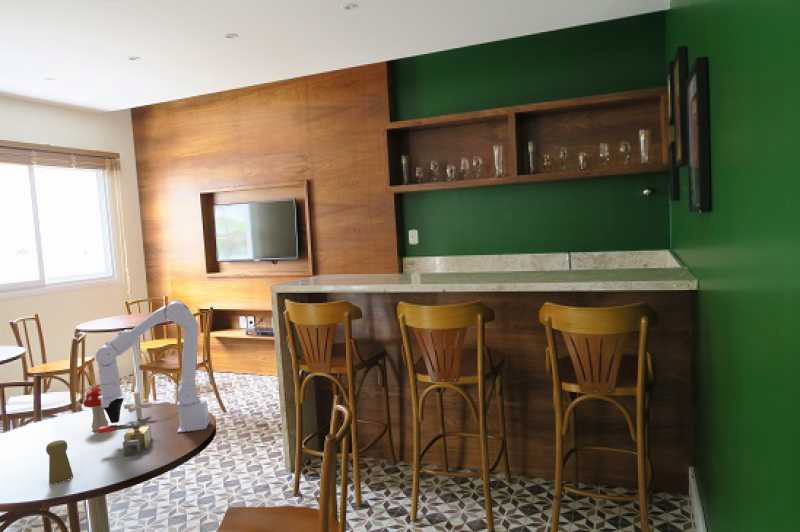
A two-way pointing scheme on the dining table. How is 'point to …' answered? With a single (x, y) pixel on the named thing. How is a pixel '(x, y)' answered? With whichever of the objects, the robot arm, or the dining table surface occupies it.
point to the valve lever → (118, 427)
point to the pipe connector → (138, 405)
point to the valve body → (136, 440)
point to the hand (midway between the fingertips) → (115, 422)
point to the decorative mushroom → (96, 408)
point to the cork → (58, 462)
